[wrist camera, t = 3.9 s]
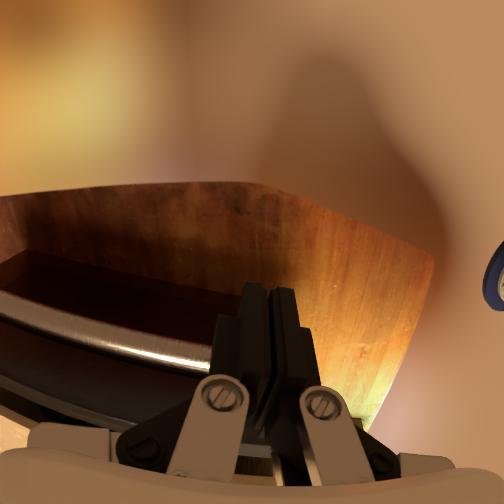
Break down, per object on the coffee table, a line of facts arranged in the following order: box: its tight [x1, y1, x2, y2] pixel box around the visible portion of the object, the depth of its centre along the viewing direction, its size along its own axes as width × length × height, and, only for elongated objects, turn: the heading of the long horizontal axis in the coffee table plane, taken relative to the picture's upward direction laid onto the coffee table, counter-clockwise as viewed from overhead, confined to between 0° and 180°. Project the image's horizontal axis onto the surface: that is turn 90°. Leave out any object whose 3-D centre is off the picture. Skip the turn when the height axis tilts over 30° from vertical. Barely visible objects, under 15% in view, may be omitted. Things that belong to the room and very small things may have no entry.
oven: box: [0, 386, 277, 486], centre depth 40 cm, size 32×40×26 cm
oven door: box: [0, 249, 271, 458], centre depth 30 cm, size 8×40×26 cm, turn 78°
